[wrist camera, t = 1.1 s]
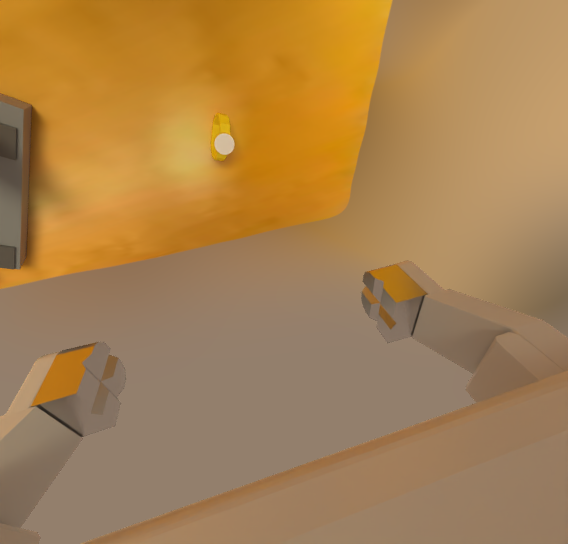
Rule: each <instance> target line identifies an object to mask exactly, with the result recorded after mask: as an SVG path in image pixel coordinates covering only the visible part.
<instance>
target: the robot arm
mask: <svg viewBox="0 0 568 544" xmlns="http://www.w3.org/2000/svg"><path fill="white" fill-rule="evenodd" d="M363 282H364V284H365V285H366V287H365V288H364V289H363V291H362V297H361V299H362V304H363V307H364V309H365V311H366V313H367V314H368V316H369V318H371V319H373V320H376V321H377V329H378V330H379V332H380V333H381V335H382V336H383V337H384V339H385V340H386V341H387V343H390V342H394V341H398V340H401V339H404V338H408V337H412V338H413V339H415V340H417V341H419V342H420V343H422V344H424V345H425V346H427V347H429V348H430V349H432V350H434V351H435V352H437V353H439V354H440V355H442V356H444V357H445V358H447V359H449V360H451V361H452V362H454V363H456V364H457V365H459V366H461V367H462V368H464V369H466V370H467V371H469V372H471V373H473V375H472V377H471V379H470V380H469V382H468V384H467V386H466V391H467V392H468V393H469V394H470V396H471V397H472V398H473V399H474V400H475V401H476V403H475V404H472V405H469V406H466V407H463V408H460V409H458V410H455V411H452V412H449V413H447V414H444V415H441V416H438V417H435V418H432V419H430V420H427V421H424V422H421V423H418V424H415V425H413V426H410V427H407V428H404V429H401V430H399V431H396V432H393V433H390V434H387V435H385V436H382V437H379V438H376V439H374V440H371V441H368V442H365V443H362V444H359V445H357V446H354V447H351V448H348V449H345V450H342V451H339V452H337V453H334V454H331V455H328V456H325V457H323V458H320V459H317V460H314V461H311V462H309V463H306V464H303V465H300V466H297V467H294V468H292V469H289V470H286V471H283V472H281V473H277V474H275V475H272V476H269V477H266V478H264V479H261V480H258V481H255V482H252V483H250V484H247V485H244V486H241V487H238V488H235V489H232V490H230V491H227V492H224V493H221V494H218V495H216V496H213V497H210V498H207V499H205V500H201V501H199V502H196V503H193V504H190V505H187V506H185V507H182V508H179V509H176V510H173V511H171V512H168V513H165V514H162V515H159V516H156V517H154V518H151V519H148V520H145V521H142V522H140V523H137V524H134V525H131V526H128V527H126V528H123V529H120V530H117V531H115V532H111V533H109V534H106V535H103V536H100V537H97V538H95V539H92V540H89V541H86V542H83V543H81V544H568V338H567V337H566V336H564V335H563V334H562V333H560V332H559V331H557V330H556V329H555V328H553V327H552V326H550V325H549V324H548V323H546V322H545V321H543V320H541V319H538V318H535V317H532V316H529V315H526V314H523V313H520V312H517V311H514V310H511V309H508V308H505V307H502V306H499V305H496V304H493V303H490V302H487V301H484V300H481V299H478V298H474V297H471V296H469V295H466V294H463V293H460V292H457V291H454V290H451V289H447V290H444V289H443V288H442V287H440V286H439V285H438V284H437V283H436V282H435V281H434V280H432V279H431V278H430V277H429V276H428V275H427V274H426V273H424V272H423V271H422V270H421V269H420V268H419V267H417V266H416V265H415V264H414V263H413V262H411V261H408V260H407V261H403V262H400V263H397V264H393V265H389V266H386V267H382V268H378V269H375V270H371V271H367V272H365V274H364V276H363ZM109 353H110V348H109V346H108V345H107V344H106V343H104V342H96V343H92V344H88V345H83V346H79V347H75V348H71V349H67V350H63V351H60V352H56V353H52V354H47V355H43V356H41V357H40V358H39V359H38V360H36V362H35V364H34V365H33V367H32V369H31V371H30V373H29V374H28V376H27V378H26V379H25V381H24V383H23V385H22V386H21V388H20V390H19V392H18V393H17V395H16V397H15V399H14V400H13V402H12V404H11V406H10V408H9V410H8V411H7V413H6V415H3V416H0V544H39V540H40V536H39V534H38V532H34V531H30V530H26V529H22V528H21V526H22V525H23V524H24V522H25V521H26V519H27V518H28V516H29V515H30V514H31V512H32V511H33V509H34V508H35V506H36V505H37V504H38V502H39V500H40V499H41V498H42V496H43V495H44V493H45V492H46V491H47V489H48V488H49V486H50V485H51V484H52V482H53V481H54V479H55V478H56V476H57V475H58V474H59V472H60V471H61V469H62V468H63V466H64V465H65V464H66V462H67V461H68V459H69V458H70V456H71V455H72V454H73V452H74V451H75V449H76V448H77V447H78V445H79V444H80V442H81V441H82V439H83V438H82V437H84V436H87V435H90V434H93V433H96V432H99V431H102V430H105V429H108V428H111V427H114V426H115V425H116V420H117V416H118V412H119V408H120V401H119V400H118V398H117V396H118V395H119V394H120V393H121V391H122V390H123V389H124V386H125V380H126V375H125V368H124V365H123V363H122V362H121V360H120V359H119V358H117V357H115V356H112V355H109Z"/></svg>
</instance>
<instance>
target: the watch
mask: <svg viewBox="0 0 568 544" xmlns="http://www.w3.org/2000/svg"><path fill="white" fill-rule="evenodd" d="M234 147H235V142H234V139H233V137H232V136H231V135H230V121H229V117H228V116H227V115H225V114H221V113H217V114H216V115H215V116H214V120H213V127H212V137H211V153H212V157H213V159H214V160H218V161H224V160H225V159H226V157H227V154H230V153H231V152H232V151H233V149H234Z"/></svg>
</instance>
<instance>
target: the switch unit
mask: <svg viewBox="0 0 568 544" xmlns="http://www.w3.org/2000/svg"><path fill="white" fill-rule="evenodd" d="M31 115H32V105H30V104H28V103H25V102H22V101H20V100H17V99H14V98H12V97H9V96H6V95H4V94H1V93H0V268H7V269H20V268H21V266H22V264H23V263H24V261H25V259H26V252H27V225H28V197H29V170H30V143H31Z"/></svg>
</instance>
